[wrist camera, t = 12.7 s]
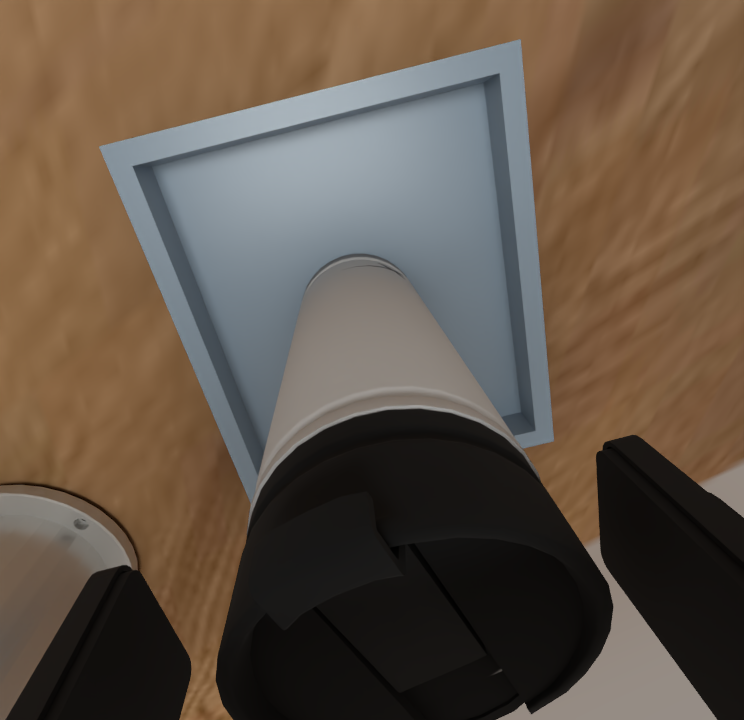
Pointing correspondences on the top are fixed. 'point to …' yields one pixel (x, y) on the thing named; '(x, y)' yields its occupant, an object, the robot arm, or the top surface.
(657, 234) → the top surface
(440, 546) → the travel mug
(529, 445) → the tray
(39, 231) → the top surface
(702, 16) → the top surface
